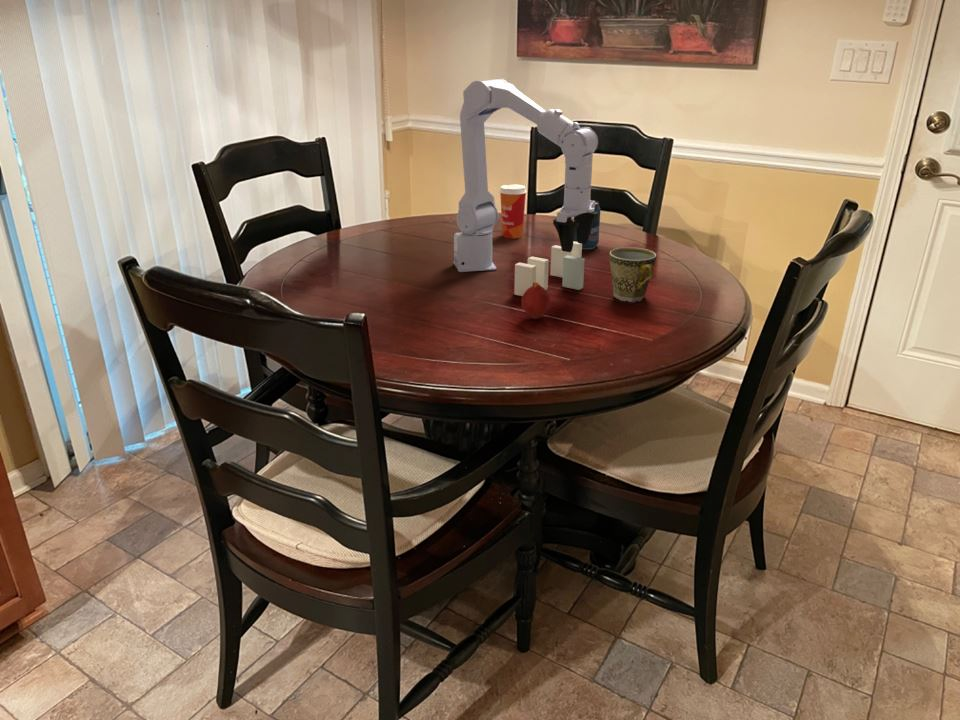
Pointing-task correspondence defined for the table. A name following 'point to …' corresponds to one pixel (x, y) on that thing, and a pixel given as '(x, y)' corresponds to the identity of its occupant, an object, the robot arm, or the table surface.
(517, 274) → the domino
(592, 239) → the soda can
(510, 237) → the paper cup
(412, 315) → the table surface
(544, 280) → the domino
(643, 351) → the table surface
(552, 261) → the domino
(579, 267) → the domino
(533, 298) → the onion
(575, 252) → the domino
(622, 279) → the ceramic cup
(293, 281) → the table surface
